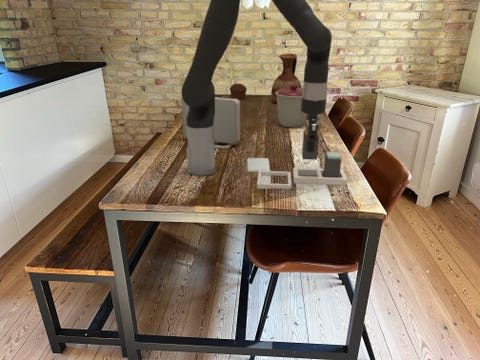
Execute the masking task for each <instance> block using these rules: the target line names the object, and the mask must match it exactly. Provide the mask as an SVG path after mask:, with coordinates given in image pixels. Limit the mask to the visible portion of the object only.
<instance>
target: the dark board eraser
mask: <svg viewBox="0 0 480 360" xmlns="http://www.w3.org/2000/svg"><path fill="white" fill-rule="evenodd" d="M341 164H342V156H341V154H340V152H336V151H335V152H334V151H333V152H332V151H326V153H325V156H324V165H323V169H324V173H323V177H333V178H339V174H340V170H341Z"/></svg>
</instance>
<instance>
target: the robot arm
mask: <svg viewBox="0 0 480 360" xmlns="http://www.w3.org/2000/svg"><path fill="white" fill-rule="evenodd" d="M271 1H272V3H273V4H274V6H275V7H276V9H277V10H278V12H279V13H280V14H281V16H283V17H284V19H285V20H286V22H287V23H288V24H289V25H290V26H291V27H292V28H293V29H294V30H295V32H296V33H297V35H298V36H299V38H300V39H301V41H302V42H303V44H304V46H306V61H305V65H304V72H303V83H302V101H301V111H302V112H303V113H306V114H307V117H306V119H305V120H306V122H305V129H307V130H306V132H307V134H308V138H307V140H308V144H307V152H314V147H315V141H316V140H317V133H319V127H320V126H319V125H320V118H319V116H318V115H321V114H324V113H325V112H326V109H327V98H328V97H327V96H328V81H329V79H328V78H329V60H330V54H331V47H332V37H333V35H332V32H331V30H330V29H329V28H328V27H327V26H325V25H324V24H323V22H321V20H320V19H319V18H318V17H317V15H316V14H315V13H314V11H313V9H312V7H311V6H310V4H308V2H307V1H306V0H271ZM240 3H241V0H210V2H209V5H208V8H207V11H206V14H205V15H204V16H205V17H204V21H203V23H202V27H201V29H200V34H199V38H198V41H197V45H196V49H195V53H194V56H193V61H192V63H191V64H190V67H189V70H188V73H187V75H186V77H185V78H184V81H183V83H182V86H181V99H182V98H183V100H184V102H185V103H186V104H187V105H188V106H189V112H188V115H187V118H186V123H187V137H188V138H187V137H186V138H187V147H186V160H187V172H188V174H192V176H193V175H194V176H199V177H200V176H208V175H212V174H214V173H215V172H216V151H215V148H216V147H214V145H215V144H214V116H215V97H216V93H215V92H216V90H215V85H214V83H213V81H212V79H213V77H214V73H215V71H216V68H217V66H218V64H219V62H220V61H221V59H222V58H223V56H224V54H225V53H226V51H227V49H228V47H229V44H230V42H231V40H232V38H233V35H234V31H235V29H236V26H237V22H238V18H239V12H240V5H241V4H240ZM308 129H309V130H308ZM311 135H314V137H310V136H311Z"/></svg>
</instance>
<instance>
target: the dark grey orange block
mask: <svg viewBox="0 0 480 360" xmlns="http://www.w3.org/2000/svg"><path fill="white" fill-rule="evenodd" d="M306 130H307V129H306V128H304V130H303V137H302V149H301V150H302V151H301V156H302V160H312V161H314V160H315V161H316V160H318V151H319V140H320V134H319V132H318V133H317V140H316V141H315V147H314V152H307V144H308V140H307V138H308V134H307V132H306ZM308 130H309V129H308ZM310 137H314V135H311V136H310Z"/></svg>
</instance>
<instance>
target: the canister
mask: <svg viewBox="0 0 480 360" xmlns="http://www.w3.org/2000/svg"><path fill="white" fill-rule="evenodd" d="M297 87H298V85H297V84H296V83H292V84H291V88H282V89H279V90H278V91H276V92H275V93H276V95H277V102H276V105H277V106H276V108H277V118H278V124H280V125H281V126H283V127H285V128H294V129H295V128H302V127H303V126H304V125H306V120H305V119H306V117H307V114H306V113H303V112H302V111H301V101H302V88H303V87H302V88H297Z"/></svg>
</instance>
